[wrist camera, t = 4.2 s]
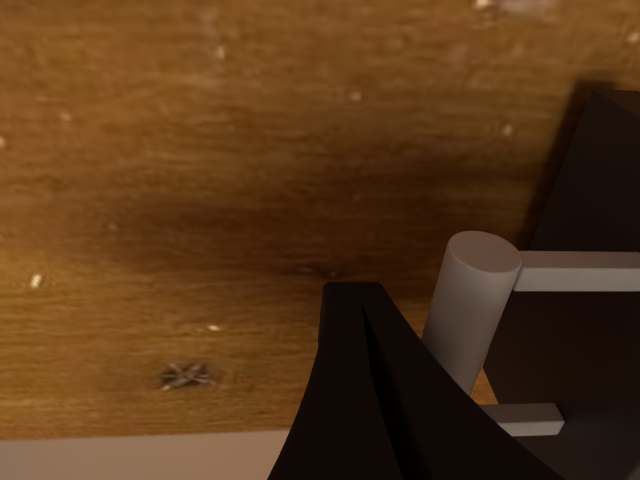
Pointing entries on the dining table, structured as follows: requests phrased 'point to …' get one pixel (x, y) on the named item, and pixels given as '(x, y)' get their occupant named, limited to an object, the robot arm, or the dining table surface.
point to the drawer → (559, 307)
